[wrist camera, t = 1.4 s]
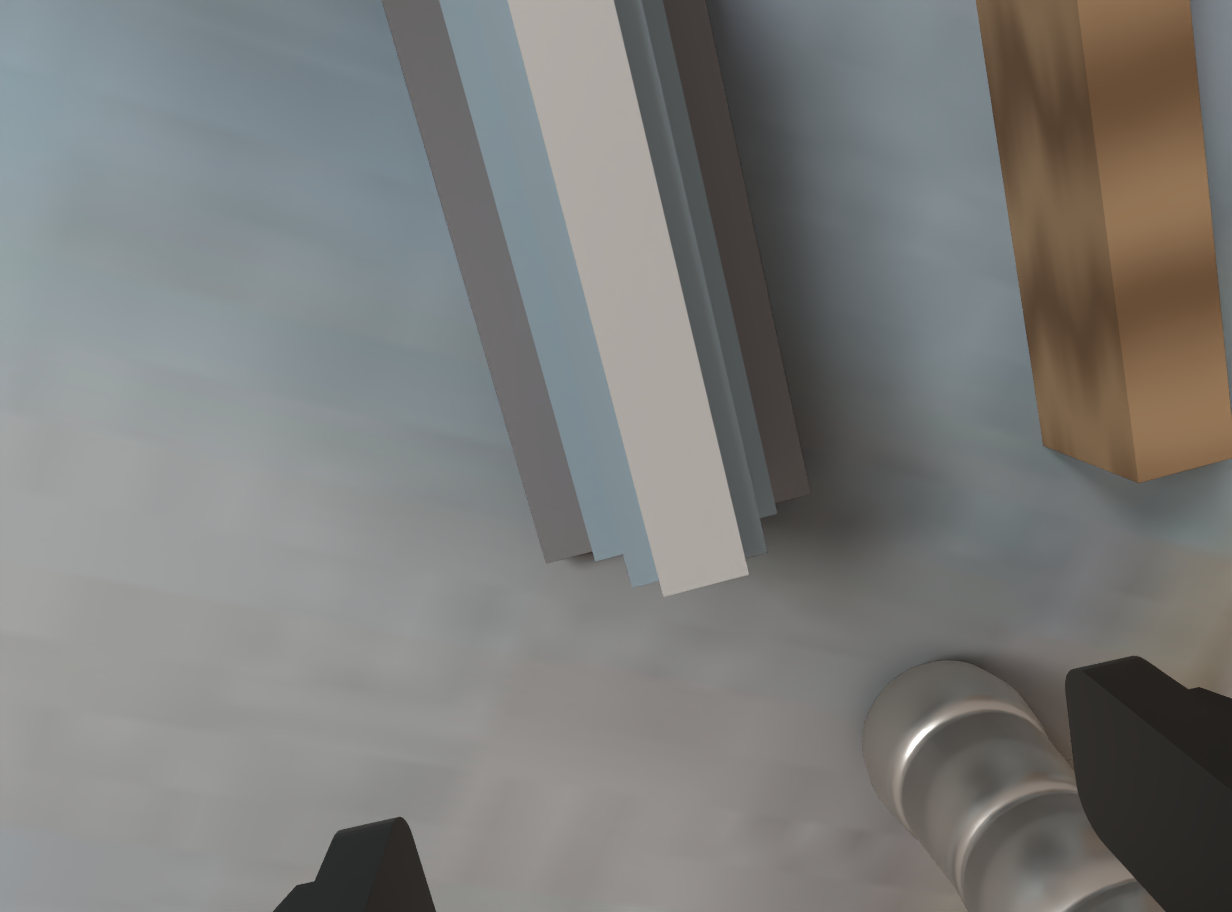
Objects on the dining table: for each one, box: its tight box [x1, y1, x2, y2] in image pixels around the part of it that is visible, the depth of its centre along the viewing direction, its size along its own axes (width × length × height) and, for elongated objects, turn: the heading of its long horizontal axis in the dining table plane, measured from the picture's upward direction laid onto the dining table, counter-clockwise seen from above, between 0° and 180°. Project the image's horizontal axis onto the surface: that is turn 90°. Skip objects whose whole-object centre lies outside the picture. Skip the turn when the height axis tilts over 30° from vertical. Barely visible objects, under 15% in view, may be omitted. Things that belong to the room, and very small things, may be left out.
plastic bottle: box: [862, 660, 1165, 912], centre depth 26 cm, size 6×7×20 cm
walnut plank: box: [976, 0, 1232, 483], centre depth 28 cm, size 24×3×6 cm, turn 15°
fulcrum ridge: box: [382, 0, 811, 597], centre depth 26 cm, size 22×10×10 cm, turn 14°
